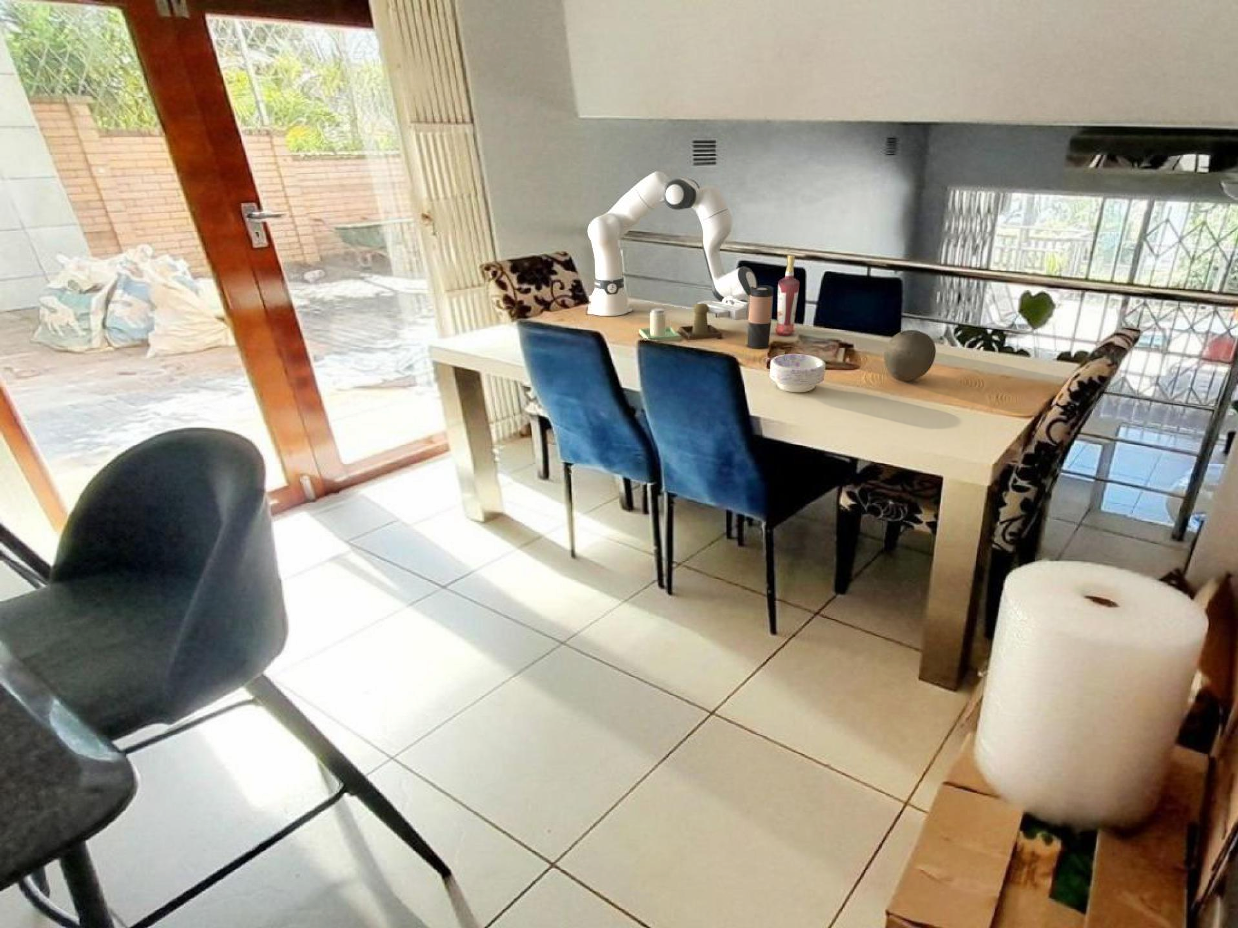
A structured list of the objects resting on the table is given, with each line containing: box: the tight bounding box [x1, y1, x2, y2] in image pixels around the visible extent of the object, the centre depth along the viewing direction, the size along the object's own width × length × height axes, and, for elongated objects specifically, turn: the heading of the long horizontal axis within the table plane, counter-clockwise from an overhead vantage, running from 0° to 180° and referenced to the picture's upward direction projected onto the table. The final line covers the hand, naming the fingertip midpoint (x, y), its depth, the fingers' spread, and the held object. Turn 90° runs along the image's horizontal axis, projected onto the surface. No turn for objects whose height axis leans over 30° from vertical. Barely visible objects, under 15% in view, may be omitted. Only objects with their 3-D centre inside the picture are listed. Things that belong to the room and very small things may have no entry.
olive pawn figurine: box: [692, 303, 709, 335], centre depth 255 cm, size 6×6×11 cm
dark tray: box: [678, 324, 723, 341], centre depth 257 cm, size 13×12×2 cm
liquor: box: [775, 254, 800, 337], centre depth 250 cm, size 7×7×28 cm
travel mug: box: [747, 285, 774, 350], centre depth 239 cm, size 8×8×20 cm
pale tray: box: [638, 326, 682, 342], centre depth 255 cm, size 13×12×2 cm
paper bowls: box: [769, 353, 827, 393], centre depth 201 cm, size 15×15×8 cm
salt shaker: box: [649, 307, 667, 337], centre depth 252 cm, size 6×6×10 cm
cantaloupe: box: [883, 329, 937, 382], centre depth 203 cm, size 14×14×15 cm
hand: (707, 313), depth 256 cm, fingers open, 8 cm apart
